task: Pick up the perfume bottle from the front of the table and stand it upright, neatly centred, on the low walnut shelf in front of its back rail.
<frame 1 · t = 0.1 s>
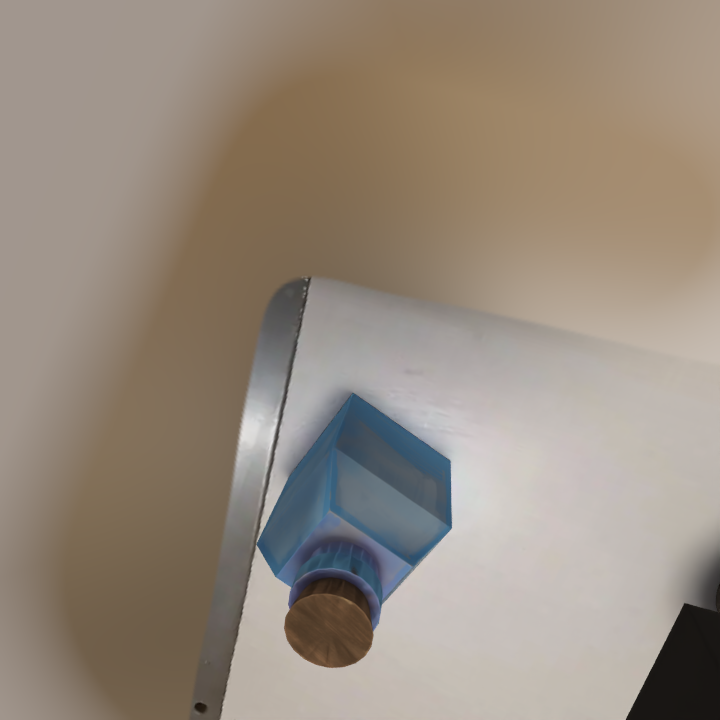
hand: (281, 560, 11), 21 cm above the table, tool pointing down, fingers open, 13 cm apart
perfume bottle: (368, 467, 33), on the table
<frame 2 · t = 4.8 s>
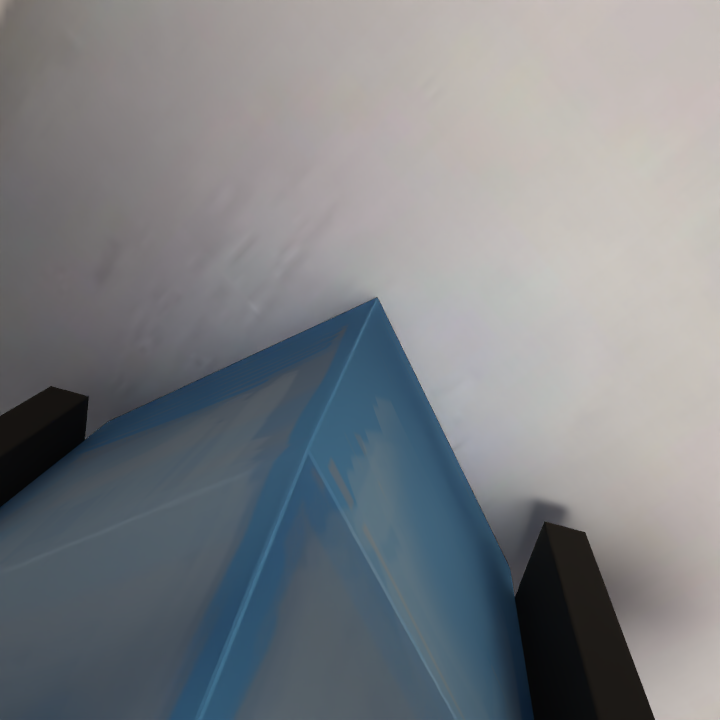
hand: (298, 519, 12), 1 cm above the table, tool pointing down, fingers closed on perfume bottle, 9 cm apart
perfume bottle: (309, 489, 13), on the table, touching gripper
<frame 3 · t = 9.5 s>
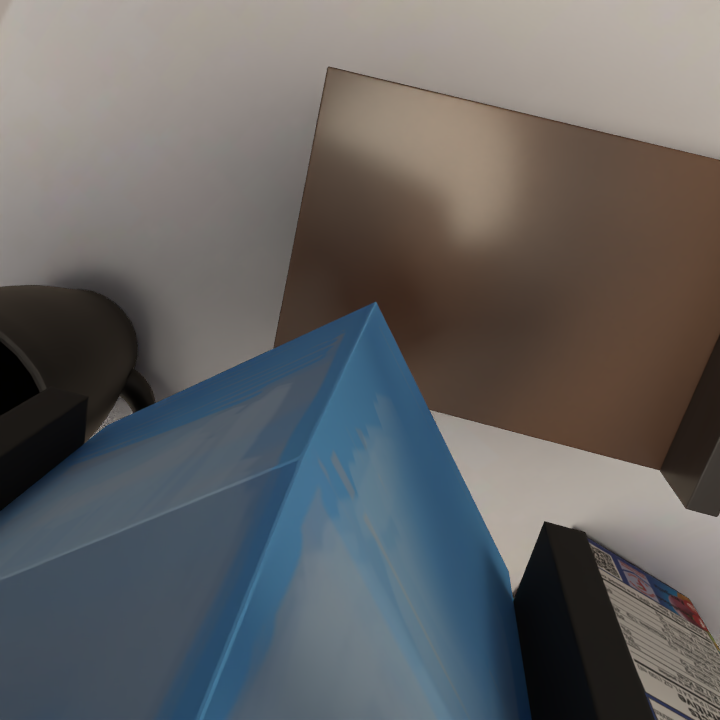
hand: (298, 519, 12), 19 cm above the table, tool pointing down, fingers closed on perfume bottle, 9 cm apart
juice carton: (560, 634, 35), on the table, touching fidget spinner
shelf: (506, 264, 29), on the table
perfume bottle: (308, 493, 13), point 18 cm above the table, touching gripper
mug: (119, 362, 33), on the table
when the fingers open (6 cm above the table, at t = 14.1 s): perfume bottle stays where it is, resting on shelf.
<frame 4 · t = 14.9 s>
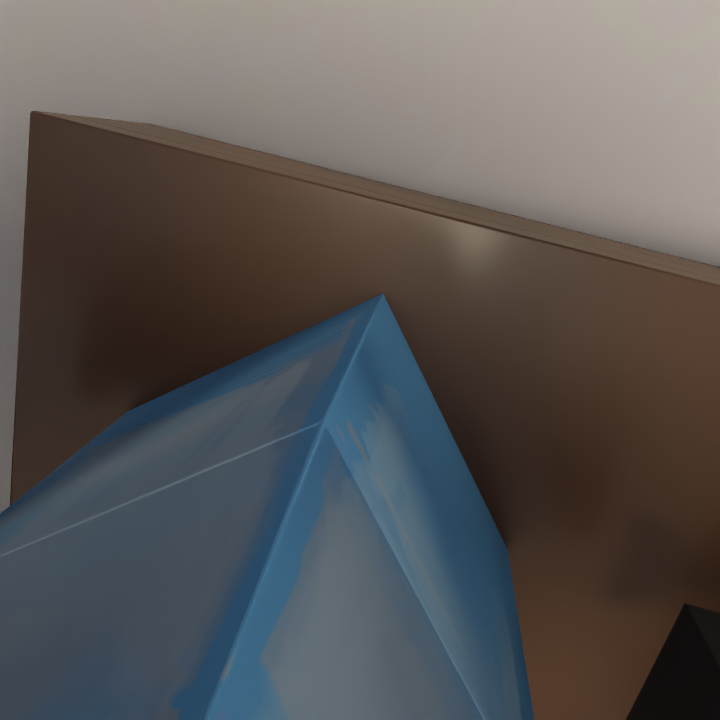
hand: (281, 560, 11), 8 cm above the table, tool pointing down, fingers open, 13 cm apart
shelf: (417, 412, 18), on the table
perfume bottle: (318, 475, 14), point 5 cm above the table, touching shelf
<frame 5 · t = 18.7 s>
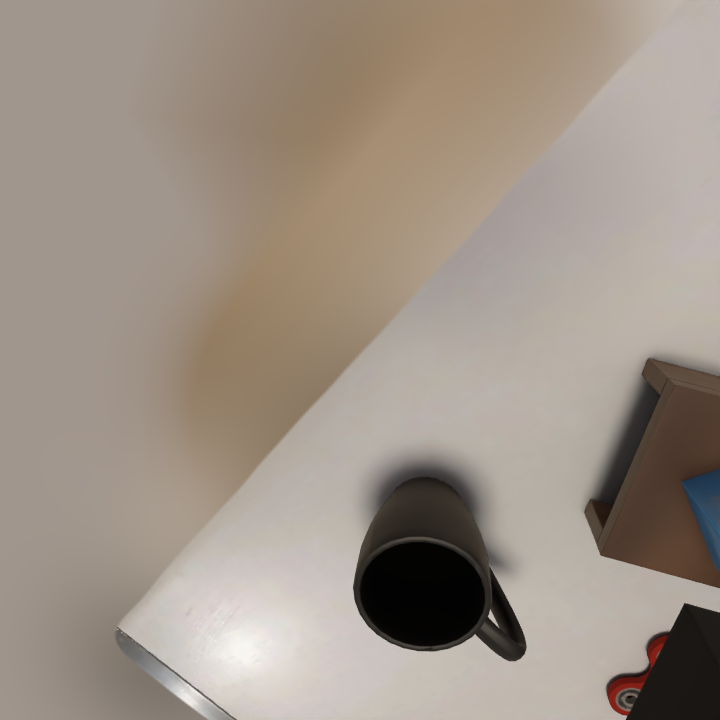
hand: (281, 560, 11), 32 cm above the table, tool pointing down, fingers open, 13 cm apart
fidget spinner: (669, 680, 48), on the table, touching juice carton
mug: (445, 524, 46), on the table
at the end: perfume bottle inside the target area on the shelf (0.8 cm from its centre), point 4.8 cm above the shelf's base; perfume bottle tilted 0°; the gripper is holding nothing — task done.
